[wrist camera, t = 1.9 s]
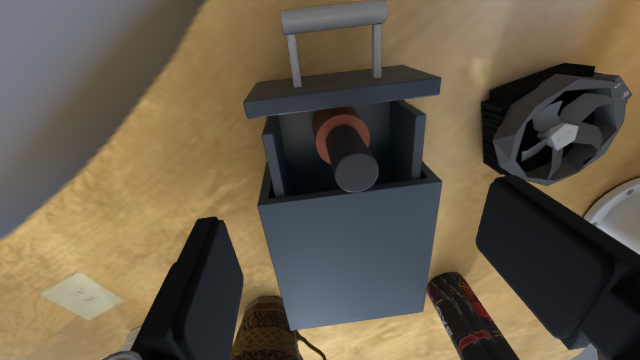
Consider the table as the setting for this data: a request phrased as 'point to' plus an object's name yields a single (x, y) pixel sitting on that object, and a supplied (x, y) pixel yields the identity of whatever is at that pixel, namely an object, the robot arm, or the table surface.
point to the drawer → (340, 91)
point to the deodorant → (467, 320)
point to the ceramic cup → (267, 333)
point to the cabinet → (351, 249)
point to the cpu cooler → (552, 122)
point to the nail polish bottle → (345, 147)
